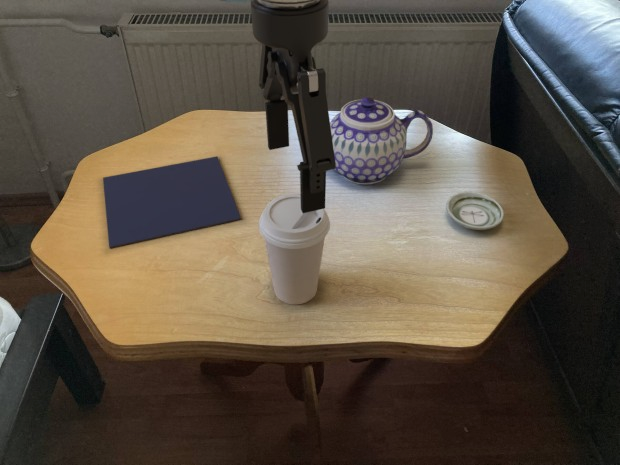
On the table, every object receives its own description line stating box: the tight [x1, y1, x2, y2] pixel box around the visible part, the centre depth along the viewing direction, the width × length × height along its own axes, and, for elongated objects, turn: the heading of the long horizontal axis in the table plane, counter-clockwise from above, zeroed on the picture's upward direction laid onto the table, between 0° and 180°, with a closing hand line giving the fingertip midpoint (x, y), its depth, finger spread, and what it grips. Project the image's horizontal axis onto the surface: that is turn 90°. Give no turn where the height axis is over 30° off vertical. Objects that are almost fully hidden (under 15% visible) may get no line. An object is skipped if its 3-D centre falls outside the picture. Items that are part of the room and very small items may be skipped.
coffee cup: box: [258, 193, 331, 305], centre depth 72 cm, size 10×10×15 cm
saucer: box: [445, 191, 505, 231], centre depth 88 cm, size 10×10×2 cm
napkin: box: [102, 155, 242, 249], centre depth 93 cm, size 22×20×1 cm
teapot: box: [330, 96, 434, 185], centre depth 95 cm, size 25×15×15 cm, turn 90°
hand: (294, 175), depth 63 cm, fingers open, 13 cm apart
